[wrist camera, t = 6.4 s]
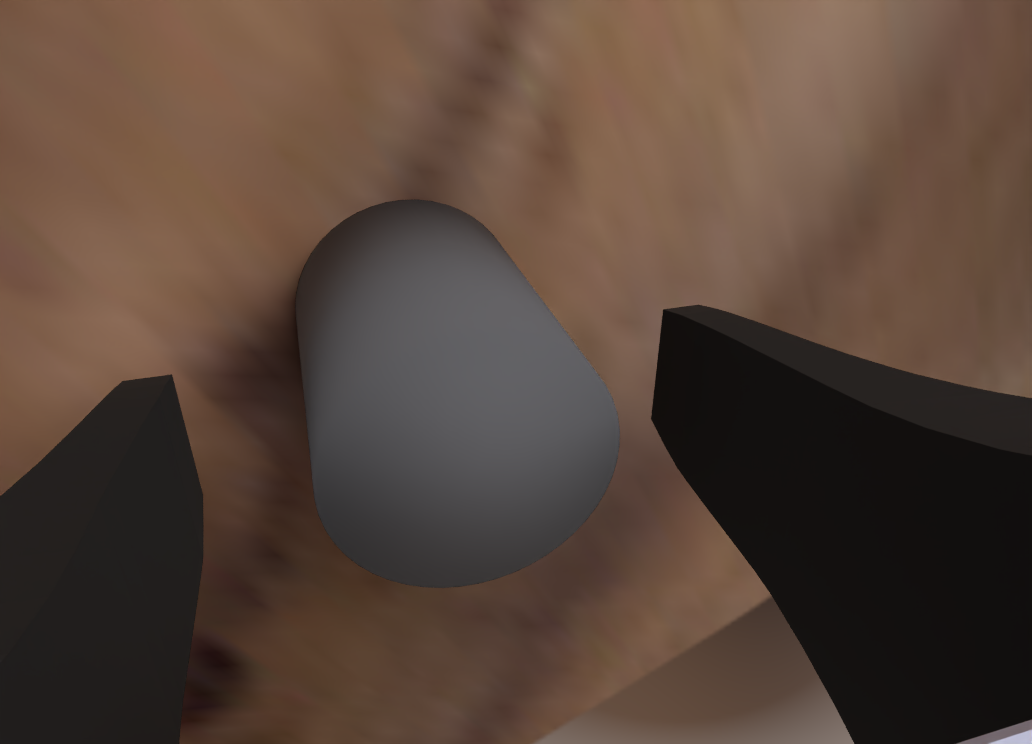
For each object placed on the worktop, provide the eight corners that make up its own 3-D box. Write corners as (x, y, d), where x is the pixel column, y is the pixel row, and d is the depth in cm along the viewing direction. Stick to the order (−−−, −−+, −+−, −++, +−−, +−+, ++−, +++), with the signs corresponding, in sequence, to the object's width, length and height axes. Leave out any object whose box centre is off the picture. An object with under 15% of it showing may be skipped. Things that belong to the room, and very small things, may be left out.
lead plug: (516, 190, 13) (631, 310, 9) (515, 385, 15) (609, 555, 11) (278, 210, 12) (290, 354, 8) (311, 415, 15) (333, 613, 10)
